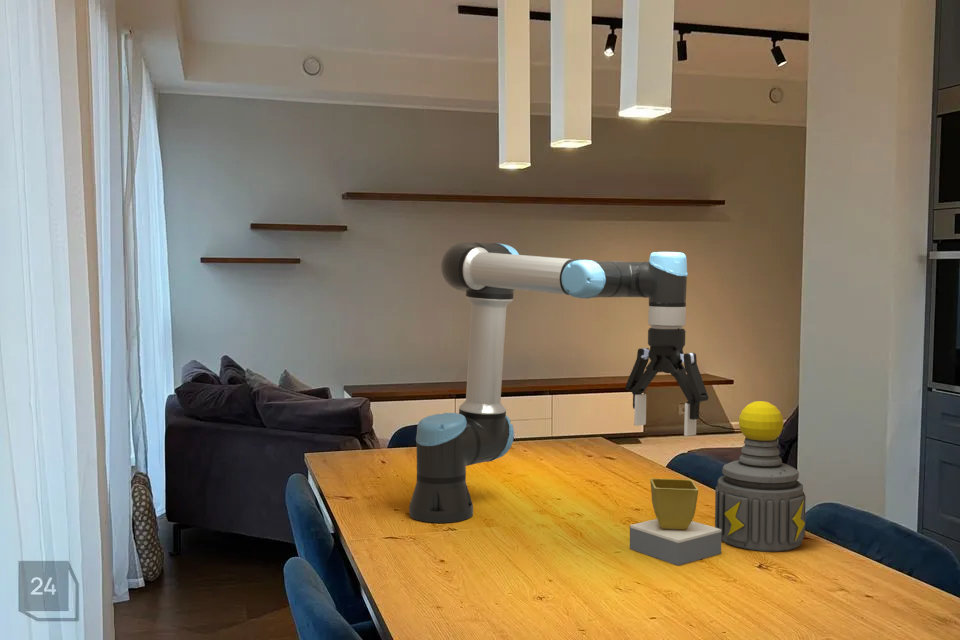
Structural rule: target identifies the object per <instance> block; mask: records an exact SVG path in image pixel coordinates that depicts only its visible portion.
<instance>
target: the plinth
mask: <svg viewBox="0 0 960 640" xmlns="http://www.w3.org/2000/svg"><path fill="white" fill-rule="evenodd" d="M629 550H631V551H635V552H638V553H641V554H643V555H647V556H649V557H652V558H655V559H657V560H660V561H662V562H666V563H669V564H671V565H674V566H682V565H685V564H689V563H693V562H696V561H699V560H700V561H701V560H703V559H707V558H710V557H713V556H717V555H721V554H722V541H721V529H718V528H715V526H711V525H708V524H704V523H701V522H697V521H694V520H692V522H691V523H690V525H689V527H688V528H687V529H686V530H681V529H663V528H661V527H660V525H659V522H658V520H657V518H656V519H650V520H647V521H642V522H638V523H634V524H629Z"/></svg>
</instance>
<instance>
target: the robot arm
mask: <svg viewBox="0 0 960 640" xmlns="http://www.w3.org/2000/svg"><path fill="white" fill-rule="evenodd" d="M440 266H441V267H440V269H441V275H442V277H443V278H444V280H445V282H446V283H447V284H448V285H449V286H450V287H452V288H453V289H455V290H457V291H462V292H465V298H466V299H467V300H468V302H469V303H470V304H471V308H470V309H471V310H470V324H469V325H470V326H469V340H468V341H469V342H468V344H469V345H468V357H467V358H468V359H467V360H468V361H467V373H466V374H467V378H466V393H465V401H464V402H463V403H461V404H460V405H459V406H458V407H459V408H458V413H457V412H445V413H436V414H432V415H428V416H425V417H424V418H422V419H420V420H419V421H418V424H417V426H416V436H415V441H416V484H415V486H414V491H413V493H412V496H411V500H410V502H409V507H408V508H409V509H408V511H409V512H408V513H409V514H408V515H409V517H410V518H411V519H413V520H416V521H420V522H424V523H434V524H435V523H437V524H439V523H445V524H446V523H454V522H462V521H465V520H468V519H470V518H471V517H472V516H474V505H473V501H472V498H471V497H472V496H471V495H470V492H469V488H468V484H467V480H466V479H467V478H466V476H467V473H466V471H467V470H466V469H467V466H472V465H476V464H480V463H489V462H493V461H495V460H496V459H500V458H502V457H503V456H504V455H506V454H507V453H508V452H509V451H510V449H511V448H512V445H513V442H514V437H515V429H514V426H513V423H511V419H510V418H509V417H508V416H507V408H506V407H505V406H504V405H503V404H502V403H501V399H502V396H501V395H502V384H503V381H502V380H503V369H504V368H503V366H504V351H505V350H504V349H505V339H506V337H505V335H506V334H505V333H506V319H507V306H508V305H509V304H511V303H512V302H513V301H514V291H515V290H517V291H527V292H538V293H545V294H555V295H556V294H557V295H565V296H571V297H573V298H577V299H593V298H644V299H645V298H646V299H647V298H648V314H647V315H648V317H647V318H648V319H647V325H648V326H650V327H649V328H648V330H647V345H648V346H649V347H647V348H646V347H643V348H642V347H641V348H638V349H637V354H636V360H635V362H634V365H633V367H632V369H631V372H630V374H629V377H628V378H627V379H628V380H627V381H626V384H625V390H626V391H630V393H632V409H634V419H633V421H634V422H633V423H634V426H636V427H638V426H645V425H647V423H646V422H647V394H646V389H647V387H648V386H649V385H650V384H651V382H652V381H653V380H654V379H655V377H656V376H657V374H658V373H664V374H670V375H671V376H672V377H674V379H675V381H676V382H677V385H678V386H679V388H680V390H681V392H682V393H683V395H684V397H685V398H686V400H687V401H686V402H685V403H684V423H683V424H684V425H683V427H684V428H683V429H684V430H683V432H684V433H683V436H685V437H690V436H696V435H697V420H699V418H700V404H701V403H702V402H706V401H708V400H709V395H708V392H707V389H706V385H705V384H704V380H703V378H702V374H701V372H700V370H699V367H698V363H697V361H698V360H697V354H696V353H695V352H689V353H688V352H686V353H684V347H685V346H686V333H687V332H686V329H685V328H683V327H685V326H686V323H687V322H686V319H687V317H686V316H687V315H686V314H687V307H686V306H687V280H688V274H689V273H688V263H687V256H686V254H685V253H683V252H679V251H657V252H656V251H653V252H651V253H650V255H649V260H648V261H619V260H617V261H616V260H614V261H613V260H611V261H610V260H590V259H578V258H576V259H575V258H563V257H553V256H552V257H551V256H538V255H523V254H519V252H518V251H517V249H516V248H514V247H512V246H511V245H509V244H505V243H504V244H503V243H498V242H473V241H472V242H471V241H464V242H463V241H462V242H459V243H455V244H454V245H451V246H450V247H449V248H448V249H447V250H446V251H445V253H444V254H443V256H442V259H441V263H440ZM649 360H650V361H649Z"/></svg>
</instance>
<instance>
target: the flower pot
mask: <svg viewBox="0 0 960 640" xmlns="http://www.w3.org/2000/svg"><path fill="white" fill-rule="evenodd" d="M649 480H650V494H651V503H652V507H653V511H654V515H655V518H656V519H657V520H658V522H659V525H660V527H661V528H663V529H681V530H686V529H687V528H688V527H689V525H690V523H691V522H692V521H694V517H695V515H696V510H697V509H696V508H697V504H698V503H697V502H698V496H699V488H698V487H697V485H696V483H695V482H694V480H692V479H681V478H678V479H677V478H650V479H649Z"/></svg>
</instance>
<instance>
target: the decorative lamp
mask: <svg viewBox="0 0 960 640" xmlns="http://www.w3.org/2000/svg"><path fill="white" fill-rule="evenodd" d="M738 426H739V430H740V431H741V433H742V435H743V436H744V437H745V438H744V441H743V444H744V446H742V448H741V451H740V452H741V453H742V454H741V455H739V458H738V460H733V461H731V462H728V463H725V464H724V465H723V466H722V470H721V472H722V474H723V475H721V476H719V478H718V480H717V486H715V488H714V489H715V494H714V495H715V498H714V500H715V501H714V502H715V504H714V506H715V507H714V527H715V528H718V529H721V542H723V543H725V544H727V545H729V546H731V547H732V546H733V547H734V548H739V549H743V550H746V551H747V550H749V551H755V552H756V551H757V552H772V553H775V552H786V551H791V550H795V549H797V548H798V547H800V546H801V545H802V544H803V543H802V542H803V540H804V537H805V535H806V501H807V500H806V497H807V496H806V494H805V492H804V484H802V483H801V482H800V481H798V480H799V477H800V475H799V474H800V473H799V470H797V469H796V468H795V467H793V466H791V465H789V464H787V463H784V462H783V460H782V457H780V456H779V455H780V454H781V453H780V449H779V448H778V440H777V439H778V437H780V436H781V433H782V430H783V428H784V418H783V415H782V413H781V411H780V410H779V409H778V408H777V406H776V405H774V404H772V403H770V402H768V401H763V400H759V401H757V400H755V401H752V402H751V403H749V404H747V405H746V406H745V407H744V408H743V409H742V410H741V412H740V415H739V417H738Z"/></svg>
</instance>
